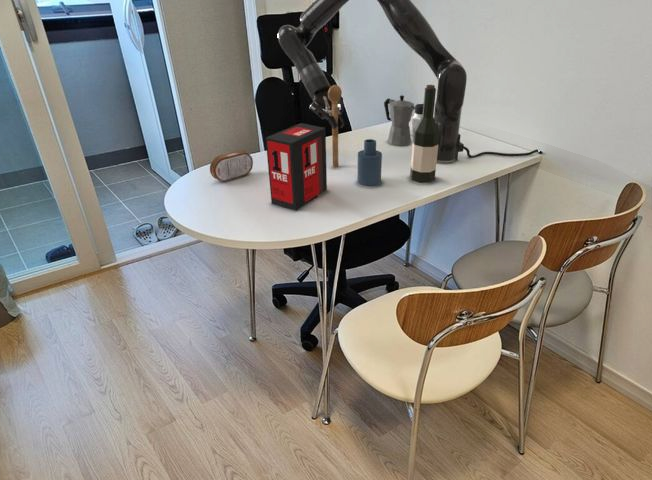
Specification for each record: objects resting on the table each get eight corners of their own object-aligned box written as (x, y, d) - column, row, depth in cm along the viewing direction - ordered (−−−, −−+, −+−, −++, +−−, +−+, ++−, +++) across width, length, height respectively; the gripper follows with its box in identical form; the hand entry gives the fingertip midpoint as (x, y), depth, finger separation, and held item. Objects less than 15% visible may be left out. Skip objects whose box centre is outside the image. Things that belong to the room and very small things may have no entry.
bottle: (376, 177, 166) (377, 136, 158) (383, 186, 160) (385, 143, 152) (354, 180, 164) (355, 138, 156) (361, 188, 158) (362, 145, 150)
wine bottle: (418, 186, 160) (426, 89, 143) (404, 177, 166) (411, 83, 149) (439, 182, 163) (450, 87, 147) (425, 173, 169) (434, 81, 153)
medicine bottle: (428, 137, 203) (431, 107, 196) (410, 135, 204) (413, 106, 197) (429, 132, 208) (432, 102, 202) (412, 130, 209) (414, 101, 203)
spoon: (328, 169, 172) (326, 85, 157) (339, 165, 175) (338, 83, 159) (331, 170, 171) (330, 86, 155) (343, 167, 174) (342, 84, 158)
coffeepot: (419, 143, 195) (423, 96, 185) (403, 149, 190) (407, 100, 180) (391, 134, 204) (393, 89, 194) (375, 139, 199) (376, 93, 189)
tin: (250, 171, 169) (247, 146, 164) (255, 173, 167) (253, 149, 163) (211, 182, 160) (207, 157, 156) (216, 185, 158) (212, 160, 154)
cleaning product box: (295, 210, 144) (291, 143, 133) (271, 203, 148) (265, 137, 137) (326, 191, 156) (325, 127, 145) (303, 185, 160) (300, 123, 148)
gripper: (302, 77, 157) (328, 124, 156) (336, 71, 165) (360, 117, 164) (294, 91, 163) (318, 137, 162) (326, 85, 171) (349, 129, 170)
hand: (339, 126), depth 163 cm, fingers closed on spoon, 2 cm apart
